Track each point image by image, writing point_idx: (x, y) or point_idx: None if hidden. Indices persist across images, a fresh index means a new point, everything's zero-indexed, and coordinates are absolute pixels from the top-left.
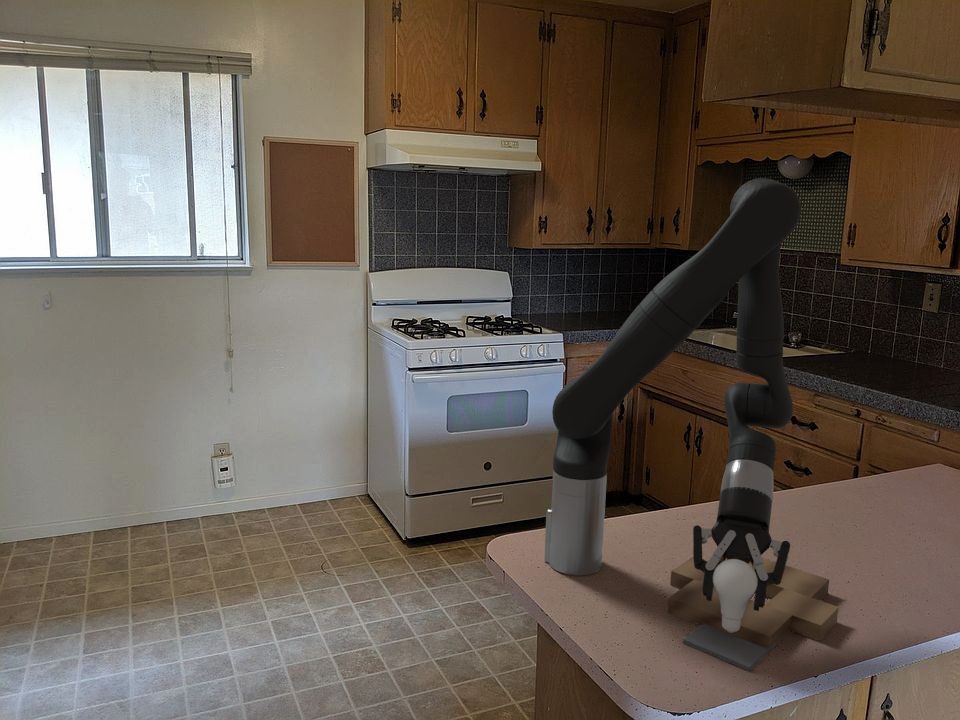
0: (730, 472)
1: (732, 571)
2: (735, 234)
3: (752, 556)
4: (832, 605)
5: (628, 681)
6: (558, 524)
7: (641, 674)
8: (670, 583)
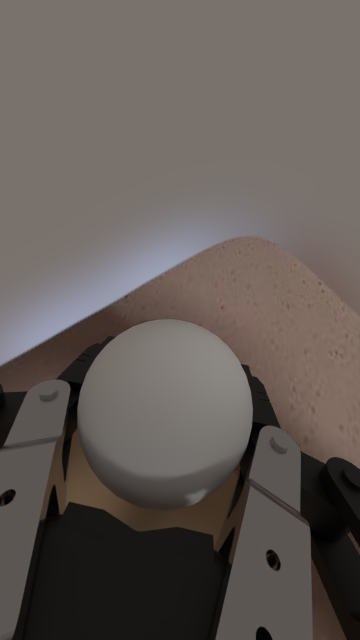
0: None
1: (192, 335)
2: None
3: (43, 489)
4: None
5: (300, 273)
6: None
7: (289, 289)
8: None
